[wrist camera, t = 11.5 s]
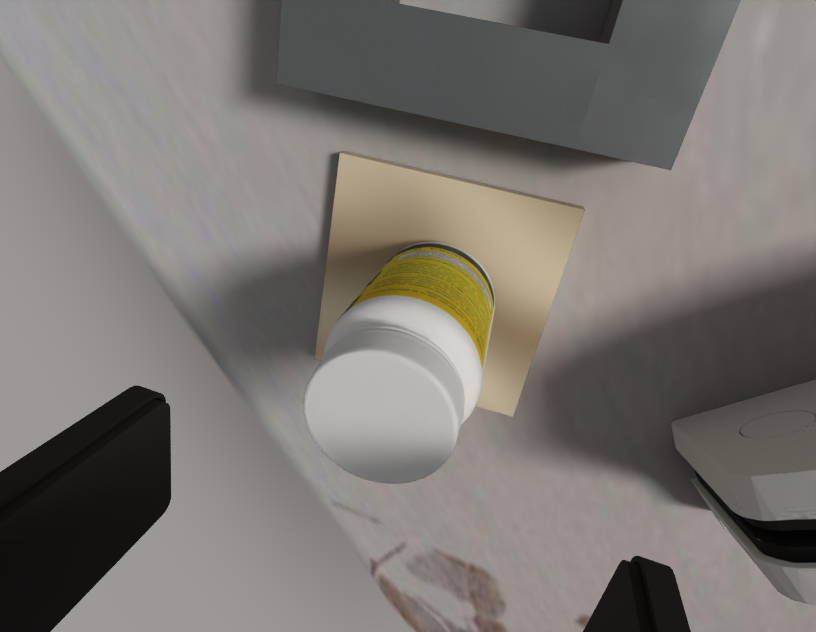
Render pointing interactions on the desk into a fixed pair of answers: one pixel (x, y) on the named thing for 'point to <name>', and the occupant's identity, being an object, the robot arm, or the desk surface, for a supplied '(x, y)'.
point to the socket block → (516, 69)
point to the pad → (460, 226)
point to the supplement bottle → (404, 365)
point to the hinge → (762, 480)
